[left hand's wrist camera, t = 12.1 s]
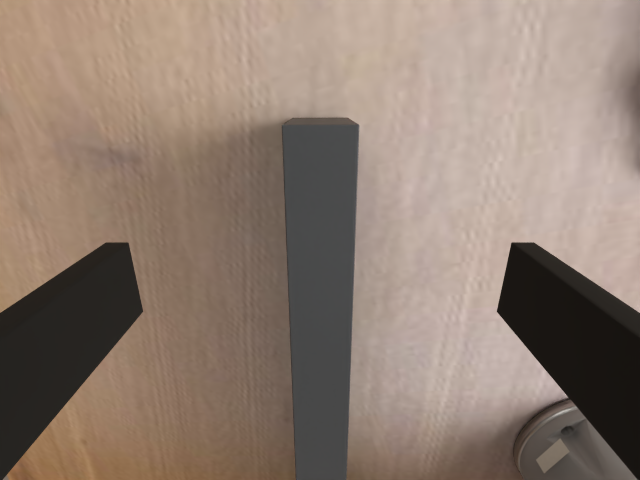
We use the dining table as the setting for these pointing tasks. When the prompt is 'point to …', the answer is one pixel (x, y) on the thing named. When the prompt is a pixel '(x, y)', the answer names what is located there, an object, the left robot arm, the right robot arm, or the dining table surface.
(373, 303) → the dining table surface
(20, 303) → the left robot arm
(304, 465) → the post
